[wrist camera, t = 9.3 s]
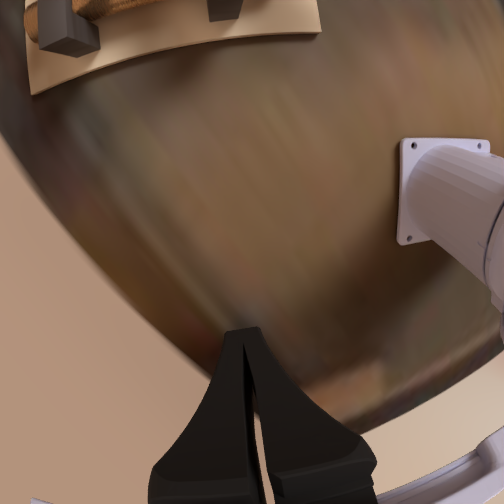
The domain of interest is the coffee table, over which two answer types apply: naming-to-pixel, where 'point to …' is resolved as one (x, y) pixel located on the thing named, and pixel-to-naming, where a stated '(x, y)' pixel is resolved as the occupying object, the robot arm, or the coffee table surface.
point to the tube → (82, 12)
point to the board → (150, 32)
